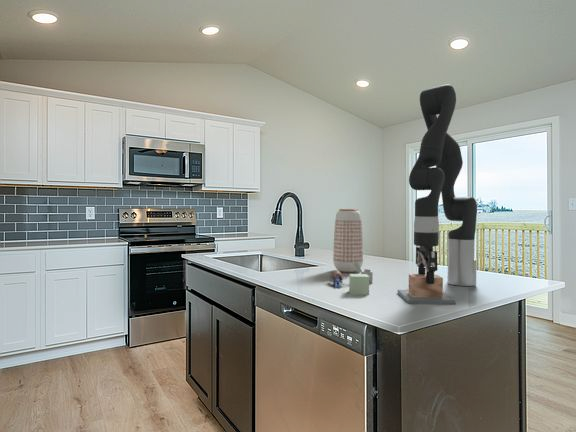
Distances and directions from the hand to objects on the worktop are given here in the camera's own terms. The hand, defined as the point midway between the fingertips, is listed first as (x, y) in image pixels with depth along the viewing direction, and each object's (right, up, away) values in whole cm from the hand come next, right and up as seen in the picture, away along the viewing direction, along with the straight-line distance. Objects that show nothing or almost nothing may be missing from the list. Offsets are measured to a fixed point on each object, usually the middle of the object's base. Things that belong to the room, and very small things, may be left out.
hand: (425, 281), depth 124 cm
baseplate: (0, -6, 0) cm, 6 cm away
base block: (0, -4, 0) cm, 4 cm away
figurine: (-26, -5, +21) cm, 34 cm away
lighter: (-15, -5, +26) cm, 30 cm away
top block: (-20, -5, +8) cm, 22 cm away
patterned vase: (-17, -5, +52) cm, 55 cm away
